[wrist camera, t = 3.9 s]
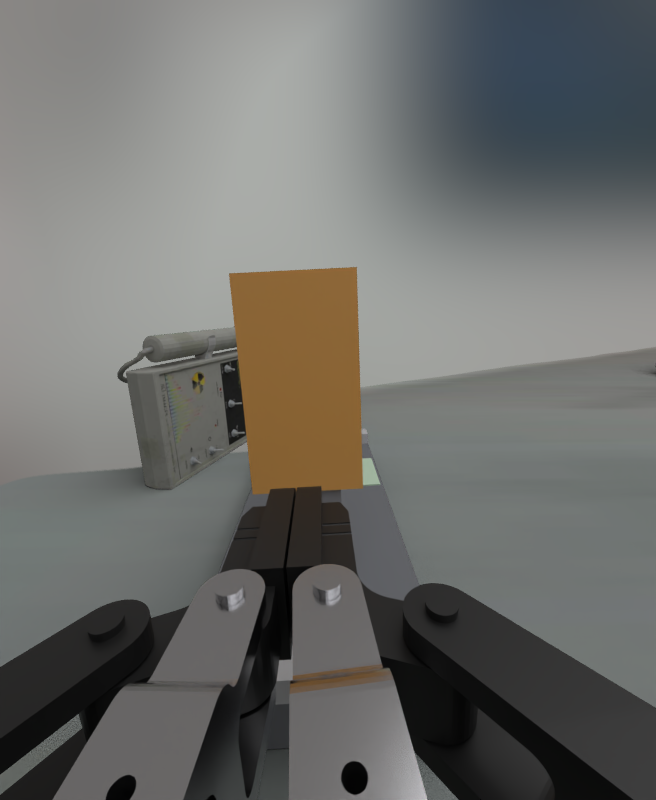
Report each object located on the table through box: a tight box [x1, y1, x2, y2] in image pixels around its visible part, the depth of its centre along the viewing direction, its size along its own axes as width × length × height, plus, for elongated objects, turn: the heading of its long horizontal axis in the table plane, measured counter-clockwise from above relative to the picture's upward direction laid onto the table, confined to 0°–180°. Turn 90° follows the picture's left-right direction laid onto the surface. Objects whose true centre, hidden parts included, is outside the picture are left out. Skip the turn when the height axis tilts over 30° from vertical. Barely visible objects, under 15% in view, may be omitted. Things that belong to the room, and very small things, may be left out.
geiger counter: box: [118, 326, 247, 490], centre depth 43 cm, size 14×6×25 cm
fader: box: [229, 267, 363, 503], centre depth 18 cm, size 3×5×14 cm, turn 91°
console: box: [218, 429, 419, 749], centre depth 25 cm, size 26×10×3 cm, turn 1°
